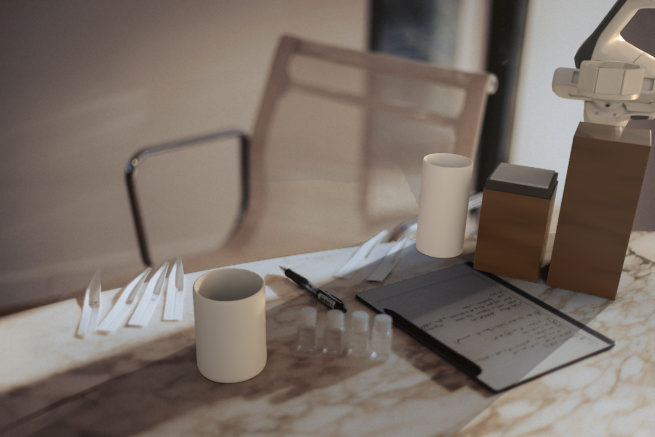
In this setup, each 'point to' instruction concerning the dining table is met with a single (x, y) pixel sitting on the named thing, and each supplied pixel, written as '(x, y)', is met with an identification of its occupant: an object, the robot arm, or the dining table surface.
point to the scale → (522, 180)
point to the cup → (443, 204)
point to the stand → (571, 216)
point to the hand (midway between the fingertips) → (613, 70)
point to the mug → (230, 324)
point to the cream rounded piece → (610, 79)
